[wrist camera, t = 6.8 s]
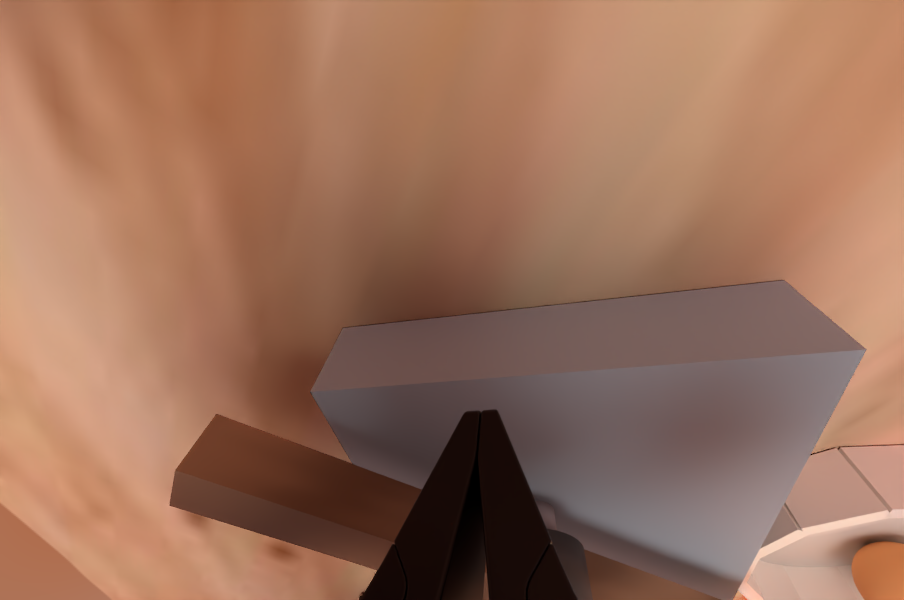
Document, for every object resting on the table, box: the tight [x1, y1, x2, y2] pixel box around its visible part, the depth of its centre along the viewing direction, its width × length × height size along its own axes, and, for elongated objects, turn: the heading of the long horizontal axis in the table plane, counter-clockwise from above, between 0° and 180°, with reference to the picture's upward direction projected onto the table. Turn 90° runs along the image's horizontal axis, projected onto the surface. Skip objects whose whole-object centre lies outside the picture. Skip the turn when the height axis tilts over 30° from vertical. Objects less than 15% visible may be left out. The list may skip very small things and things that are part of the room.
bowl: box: [738, 445, 904, 600], centre depth 17 cm, size 10×10×2 cm
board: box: [310, 280, 866, 600], centre depth 15 cm, size 16×14×4 cm
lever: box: [170, 414, 721, 600], centre depth 12 cm, size 22×3×2 cm, turn 62°
